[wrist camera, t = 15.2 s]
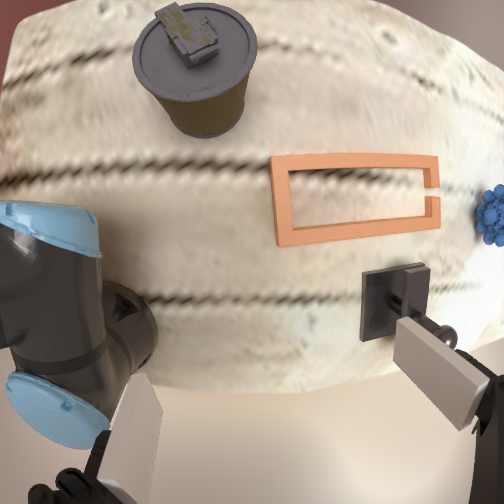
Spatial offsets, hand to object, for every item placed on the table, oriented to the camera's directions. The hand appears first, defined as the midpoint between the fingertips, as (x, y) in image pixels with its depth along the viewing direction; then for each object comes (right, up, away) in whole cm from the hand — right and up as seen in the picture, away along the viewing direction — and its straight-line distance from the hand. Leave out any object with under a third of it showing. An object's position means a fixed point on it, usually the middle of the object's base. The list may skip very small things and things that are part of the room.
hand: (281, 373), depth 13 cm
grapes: (+42, +14, +29) cm, 53 cm away
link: (+15, +14, +27) cm, 34 cm away
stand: (+22, -2, +31) cm, 38 cm away
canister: (-8, +26, +22) cm, 35 cm away
